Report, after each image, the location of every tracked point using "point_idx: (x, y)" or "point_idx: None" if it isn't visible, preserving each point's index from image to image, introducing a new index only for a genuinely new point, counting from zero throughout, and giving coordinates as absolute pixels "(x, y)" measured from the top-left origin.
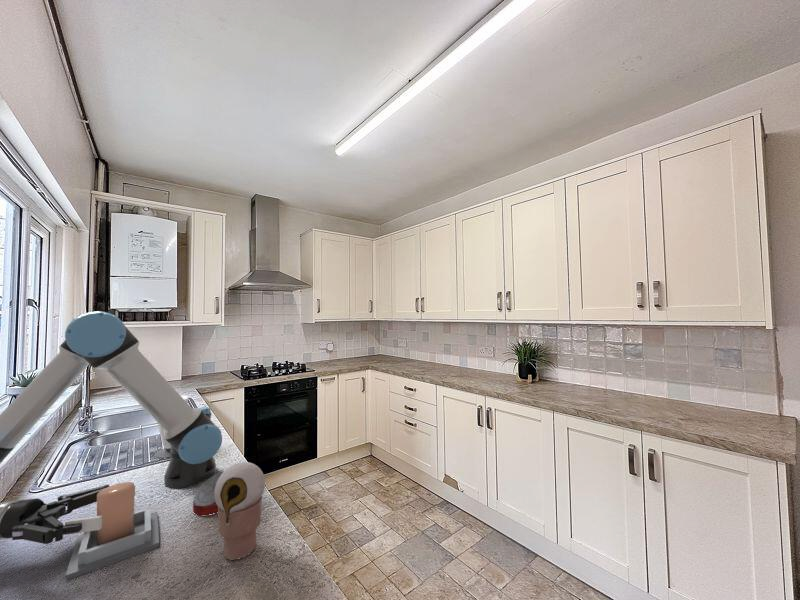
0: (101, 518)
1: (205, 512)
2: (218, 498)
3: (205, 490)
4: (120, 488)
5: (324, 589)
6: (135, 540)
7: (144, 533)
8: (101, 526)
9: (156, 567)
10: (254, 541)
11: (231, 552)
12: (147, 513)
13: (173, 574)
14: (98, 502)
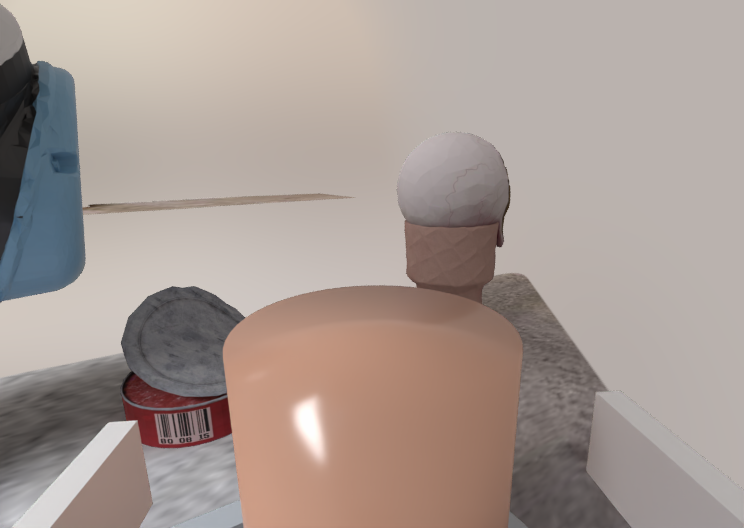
0: (597, 409)
1: None
2: (506, 188)
3: (182, 359)
4: (358, 317)
5: (518, 273)
6: None
7: None
8: (588, 462)
9: (526, 421)
10: None
11: None
12: (235, 512)
13: (540, 383)
14: (512, 420)
